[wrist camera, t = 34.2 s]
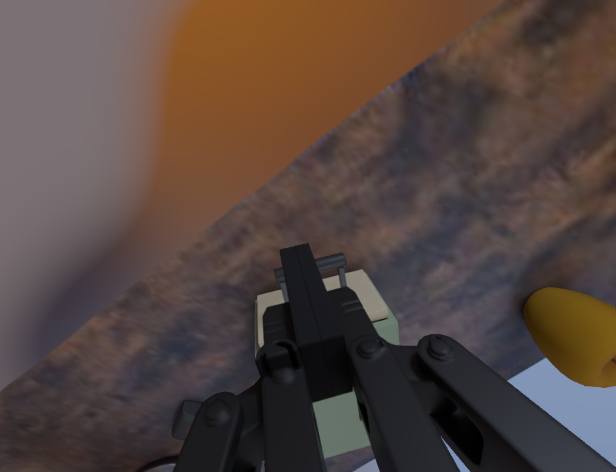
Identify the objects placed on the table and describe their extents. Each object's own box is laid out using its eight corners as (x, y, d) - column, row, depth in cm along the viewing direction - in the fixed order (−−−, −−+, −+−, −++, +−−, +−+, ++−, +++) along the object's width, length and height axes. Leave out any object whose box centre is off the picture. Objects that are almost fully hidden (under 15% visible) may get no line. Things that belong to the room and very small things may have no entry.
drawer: (243, 252, 33) (240, 293, 26) (357, 225, 34) (384, 257, 27) (288, 393, 44) (294, 448, 37) (373, 369, 45) (396, 419, 38)
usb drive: (184, 400, 42) (180, 419, 40) (262, 412, 46) (262, 430, 44) (173, 423, 44) (168, 443, 41) (249, 433, 48) (249, 452, 45)
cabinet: (254, 299, 37) (255, 360, 28) (365, 271, 38) (398, 322, 29) (287, 398, 46) (294, 467, 37) (376, 373, 47) (404, 435, 38)
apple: (490, 317, 46) (570, 391, 34) (542, 263, 43) (649, 324, 31) (530, 338, 49) (614, 411, 38) (581, 290, 46) (688, 353, 35)
